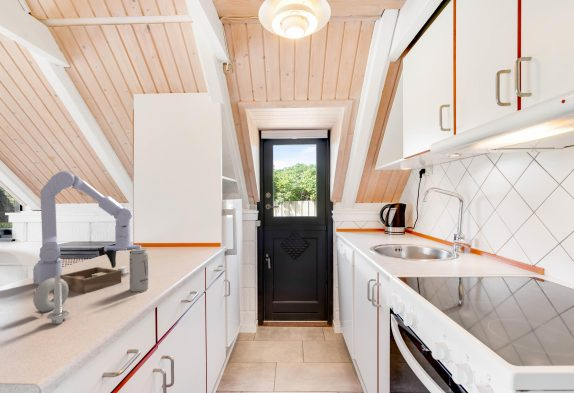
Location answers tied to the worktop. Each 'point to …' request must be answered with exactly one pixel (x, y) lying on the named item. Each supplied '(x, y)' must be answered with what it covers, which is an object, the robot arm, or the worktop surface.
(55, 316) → the screw
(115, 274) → the storage box
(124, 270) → the lid
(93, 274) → the cream block
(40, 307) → the donut
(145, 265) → the energy drink can
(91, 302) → the worktop surface
